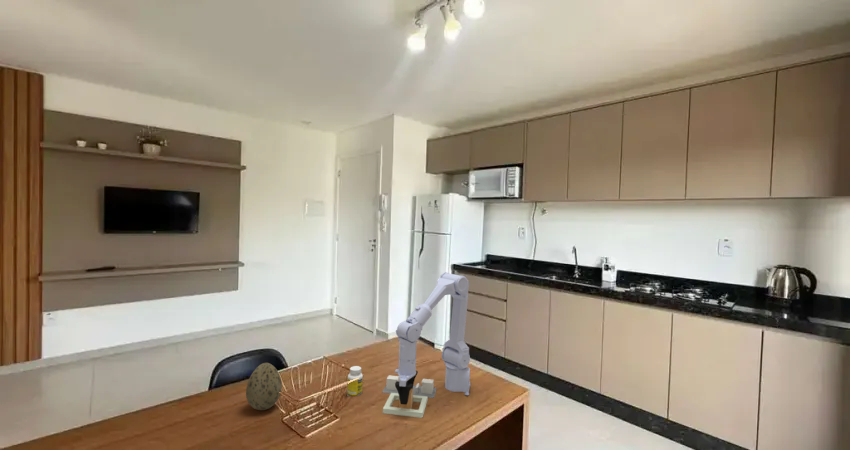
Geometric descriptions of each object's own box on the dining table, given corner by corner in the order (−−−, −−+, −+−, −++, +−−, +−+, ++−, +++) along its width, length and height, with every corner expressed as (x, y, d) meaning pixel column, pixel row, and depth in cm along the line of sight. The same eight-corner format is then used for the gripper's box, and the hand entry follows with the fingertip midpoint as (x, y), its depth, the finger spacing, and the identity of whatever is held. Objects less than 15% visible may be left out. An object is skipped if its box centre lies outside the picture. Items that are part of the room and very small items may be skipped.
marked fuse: (412, 406, 126) (412, 388, 125) (410, 410, 123) (411, 392, 122) (400, 404, 126) (401, 387, 126) (398, 409, 123) (399, 391, 123)
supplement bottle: (358, 399, 130) (359, 372, 130) (344, 397, 131) (345, 370, 131) (364, 392, 135) (365, 366, 135) (350, 390, 136) (351, 364, 136)
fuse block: (436, 390, 139) (437, 377, 139) (434, 400, 131) (434, 386, 131) (387, 385, 142) (387, 372, 142) (381, 395, 134) (382, 381, 134)
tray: (427, 403, 129) (427, 396, 129) (422, 420, 118) (422, 413, 118) (390, 399, 131) (391, 392, 131) (382, 416, 120) (382, 408, 120)
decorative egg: (285, 410, 121) (286, 365, 121) (249, 420, 115) (250, 373, 114) (276, 397, 130) (277, 354, 129) (242, 406, 123) (243, 361, 123)
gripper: (400, 349, 132) (399, 387, 132) (390, 365, 117) (389, 407, 118) (420, 351, 131) (418, 389, 131) (412, 367, 116) (411, 410, 117)
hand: (406, 398), depth 124 cm, fingers open, 7 cm apart
